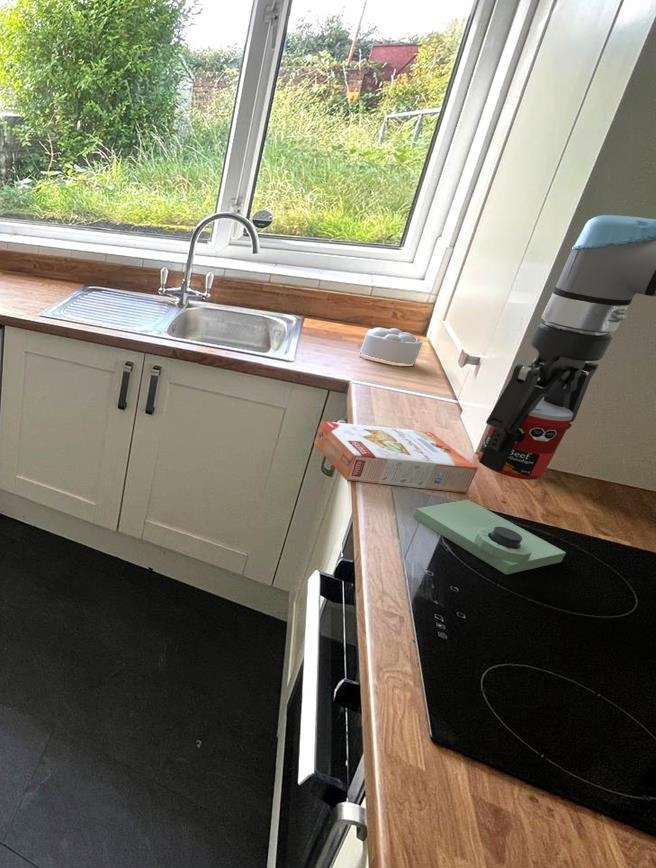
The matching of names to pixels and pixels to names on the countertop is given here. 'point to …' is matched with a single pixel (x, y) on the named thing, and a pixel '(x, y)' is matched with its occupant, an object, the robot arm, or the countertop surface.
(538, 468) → the canned food
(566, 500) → the countertop surface
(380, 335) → the lumpy-topped squat cylinder
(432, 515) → the scale
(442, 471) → the cracker box
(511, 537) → the button
